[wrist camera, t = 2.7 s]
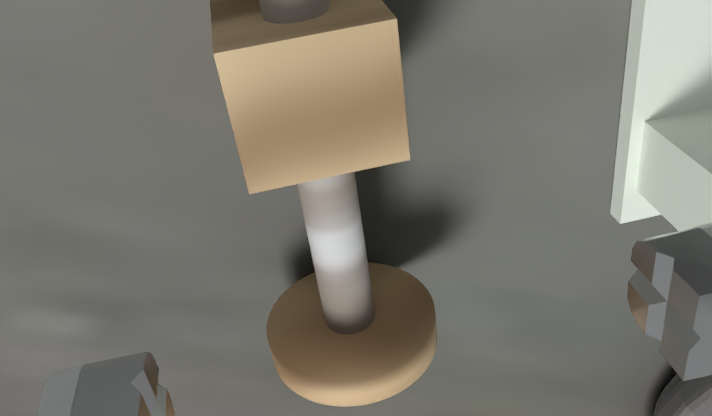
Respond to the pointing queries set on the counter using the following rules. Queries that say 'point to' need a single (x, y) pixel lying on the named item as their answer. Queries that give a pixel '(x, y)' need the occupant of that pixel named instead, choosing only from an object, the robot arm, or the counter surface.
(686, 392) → the coffee pot
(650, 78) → the brackets
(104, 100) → the counter surface
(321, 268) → the brown block with rod
